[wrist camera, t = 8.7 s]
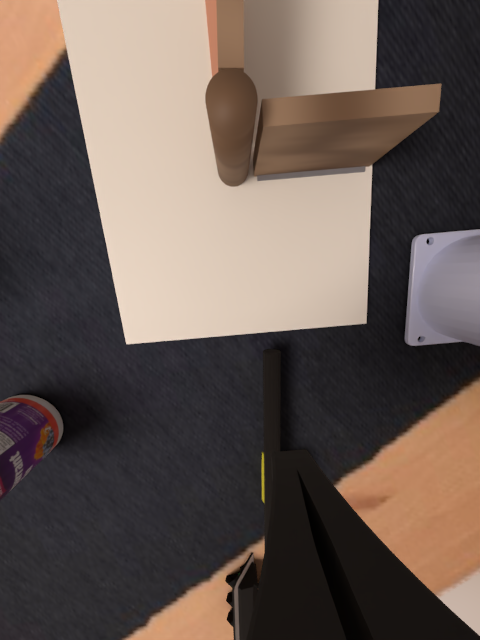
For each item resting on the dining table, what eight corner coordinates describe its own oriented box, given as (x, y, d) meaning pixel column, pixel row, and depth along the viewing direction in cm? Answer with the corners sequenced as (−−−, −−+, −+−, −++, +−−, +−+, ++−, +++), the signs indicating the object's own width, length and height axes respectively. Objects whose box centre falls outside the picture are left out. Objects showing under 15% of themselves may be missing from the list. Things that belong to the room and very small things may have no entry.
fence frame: (370, 139, 14) (464, 47, 8) (368, 175, 15) (457, 110, 9) (215, 153, 14) (202, 70, 8) (219, 187, 15) (208, 132, 9)
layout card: (379, -115, 12) (383, -128, 12) (364, 322, 17) (367, 323, 17) (42, -86, 12) (36, -99, 12) (128, 343, 17) (125, 344, 17)
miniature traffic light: (244, 334, 22) (249, 583, 26) (203, 347, 18) (217, 645, 22) (314, 343, 18) (306, 636, 22) (283, 363, 14) (281, 724, 18)
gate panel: (240, 141, 14) (243, 67, 9) (224, 140, 14) (218, 67, 9) (239, -33, 12) (241, -244, 7) (220, -33, 12) (210, -246, 7)
